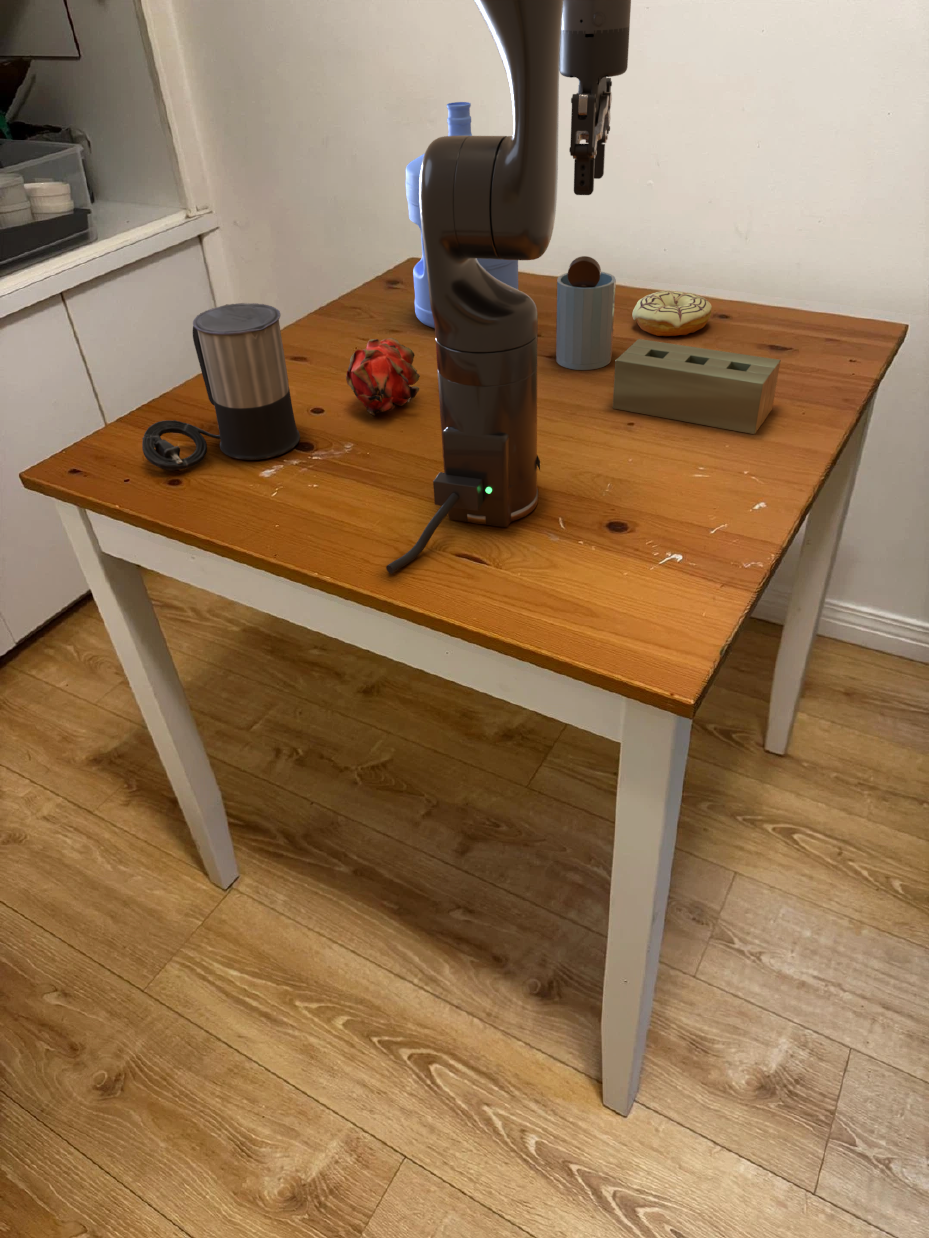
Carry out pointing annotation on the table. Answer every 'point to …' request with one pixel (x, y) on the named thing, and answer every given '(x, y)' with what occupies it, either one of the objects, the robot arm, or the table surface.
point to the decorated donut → (672, 313)
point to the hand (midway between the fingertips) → (589, 186)
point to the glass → (585, 323)
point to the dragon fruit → (382, 375)
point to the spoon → (584, 272)
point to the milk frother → (235, 389)
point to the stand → (696, 385)
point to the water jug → (496, 267)
